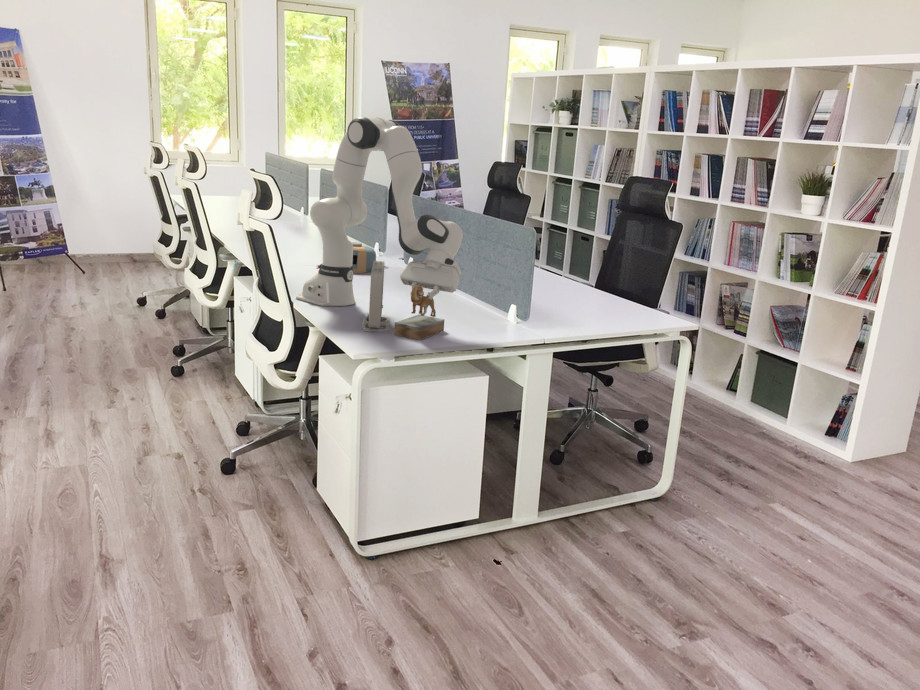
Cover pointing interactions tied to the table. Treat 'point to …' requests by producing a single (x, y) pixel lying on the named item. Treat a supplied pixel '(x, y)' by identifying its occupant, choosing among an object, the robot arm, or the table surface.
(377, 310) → the network device
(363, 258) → the alarm clock
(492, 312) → the table surface
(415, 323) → the plinth
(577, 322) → the table surface
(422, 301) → the lion figurine
